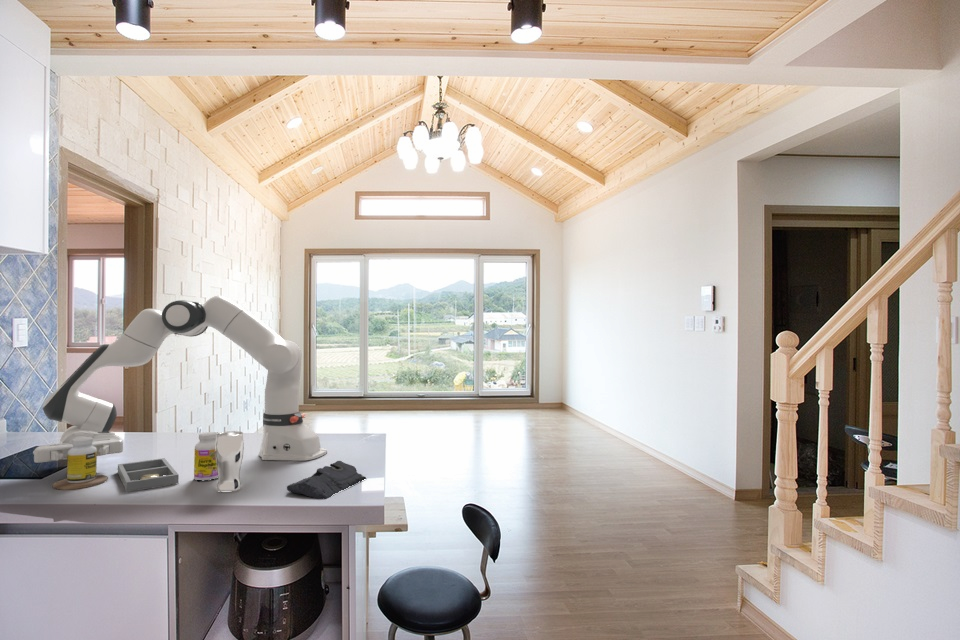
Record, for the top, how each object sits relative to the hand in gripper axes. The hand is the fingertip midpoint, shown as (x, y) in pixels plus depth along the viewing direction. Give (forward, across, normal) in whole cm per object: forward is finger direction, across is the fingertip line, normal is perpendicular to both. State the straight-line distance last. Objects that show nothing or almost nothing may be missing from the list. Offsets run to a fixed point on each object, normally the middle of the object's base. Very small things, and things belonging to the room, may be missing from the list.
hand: (81, 454), depth 145 cm
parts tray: (+5, +15, +8) cm, 18 cm away
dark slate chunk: (+42, +53, +9) cm, 68 cm away
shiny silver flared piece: (+30, +31, +8) cm, 44 cm away
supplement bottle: (+15, +28, +8) cm, 33 cm away
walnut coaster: (-1, 0, +8) cm, 8 cm away
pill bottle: (-1, 0, +8) cm, 8 cm away
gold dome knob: (+10, +15, +8) cm, 20 cm away
